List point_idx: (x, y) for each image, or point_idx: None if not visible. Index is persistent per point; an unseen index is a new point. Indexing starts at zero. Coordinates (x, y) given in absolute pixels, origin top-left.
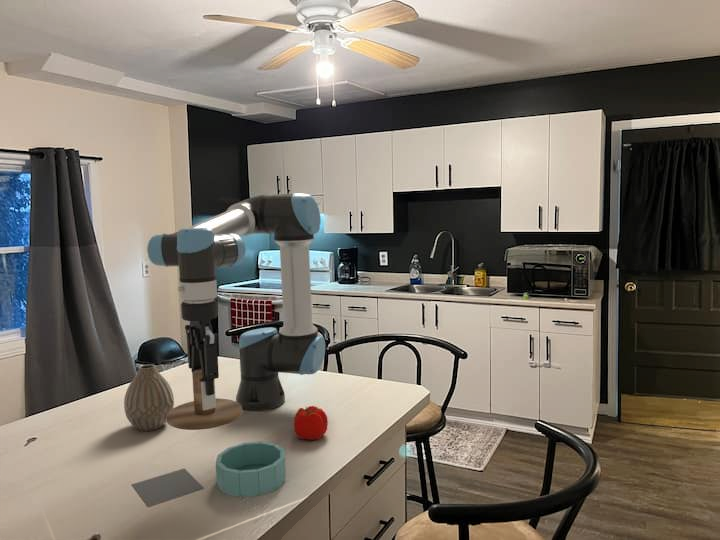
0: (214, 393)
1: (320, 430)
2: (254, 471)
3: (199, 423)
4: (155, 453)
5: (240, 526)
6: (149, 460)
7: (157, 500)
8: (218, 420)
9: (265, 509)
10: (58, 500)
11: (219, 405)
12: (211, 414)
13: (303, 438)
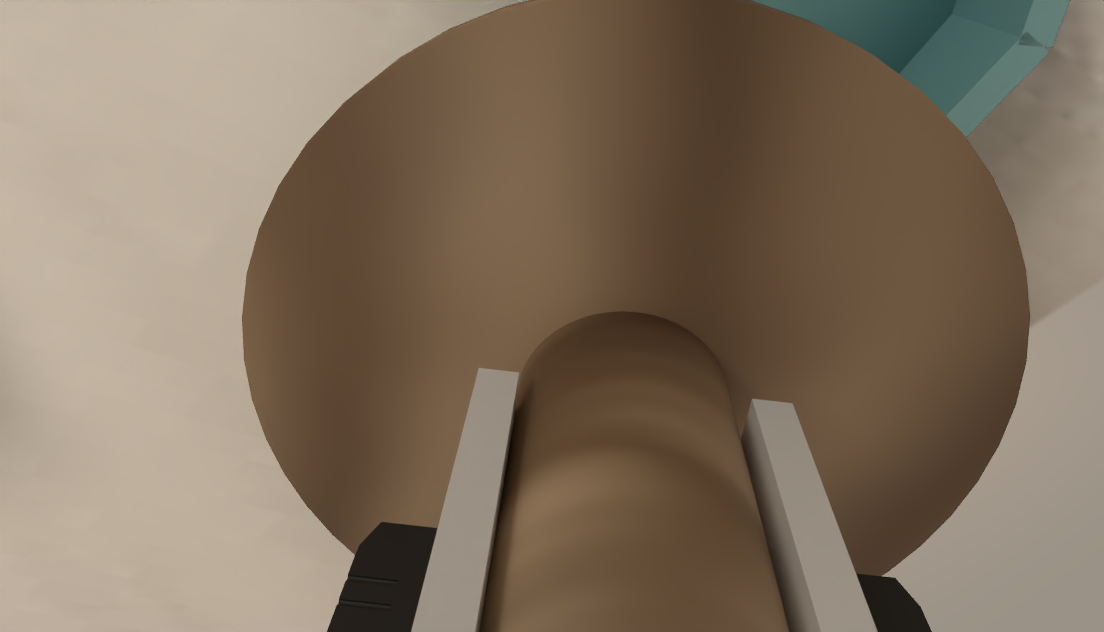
0: (839, 540)
1: None
2: (1026, 70)
3: (851, 547)
4: (66, 209)
5: (1083, 237)
6: (144, 264)
7: None
8: (949, 423)
9: (1093, 66)
10: (327, 595)
11: (571, 223)
12: (750, 398)
13: None
